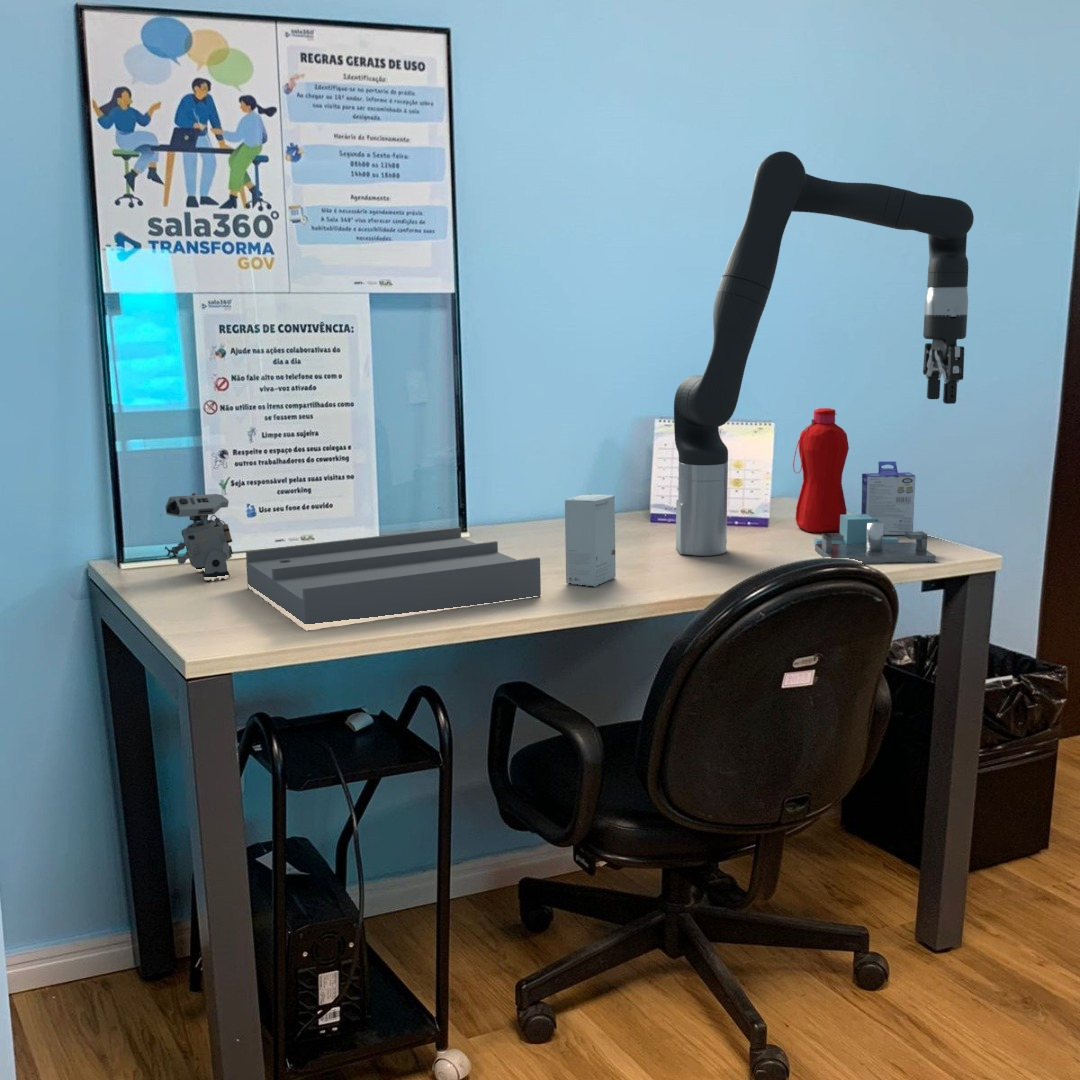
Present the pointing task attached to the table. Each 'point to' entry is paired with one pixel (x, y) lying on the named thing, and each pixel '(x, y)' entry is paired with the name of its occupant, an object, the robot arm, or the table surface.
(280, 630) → the table surface
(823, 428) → the water bottle
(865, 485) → the ink cartridge box
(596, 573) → the skincare box
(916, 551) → the mount
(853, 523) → the light blue skewered cube
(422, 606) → the desk organizer
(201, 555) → the figurine
